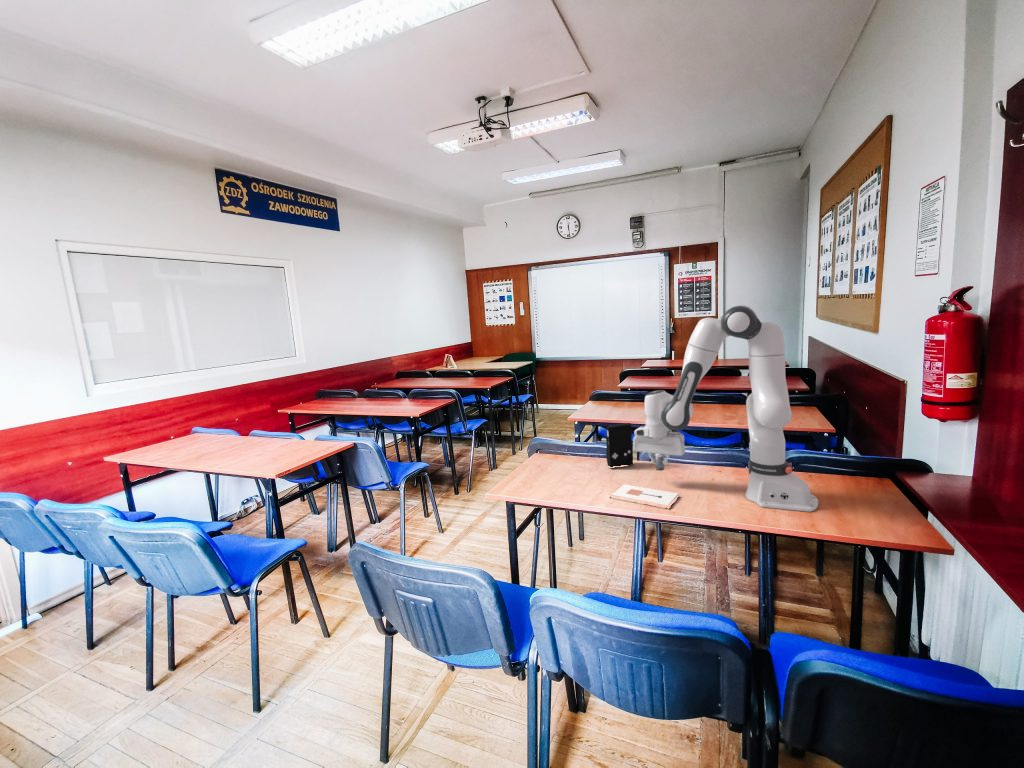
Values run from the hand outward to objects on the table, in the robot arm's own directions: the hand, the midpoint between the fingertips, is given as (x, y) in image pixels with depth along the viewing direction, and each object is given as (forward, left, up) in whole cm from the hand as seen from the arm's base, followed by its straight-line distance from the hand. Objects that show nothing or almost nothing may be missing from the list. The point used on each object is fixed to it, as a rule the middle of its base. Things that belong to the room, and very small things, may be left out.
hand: (659, 463), depth 179 cm
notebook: (+2, +13, -10) cm, 16 cm away
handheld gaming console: (+25, -16, -10) cm, 31 cm away
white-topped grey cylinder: (0, 0, -2) cm, 2 cm away
